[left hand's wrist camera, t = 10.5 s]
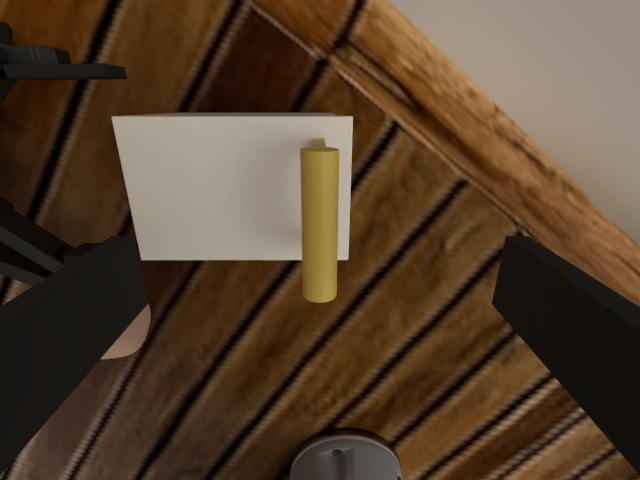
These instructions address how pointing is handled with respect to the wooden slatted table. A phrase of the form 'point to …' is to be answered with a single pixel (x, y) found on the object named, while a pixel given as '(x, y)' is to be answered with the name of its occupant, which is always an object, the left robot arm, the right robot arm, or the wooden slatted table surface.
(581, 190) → the wooden slatted table surface
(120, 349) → the anatomical model
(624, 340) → the left robot arm
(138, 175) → the lid
